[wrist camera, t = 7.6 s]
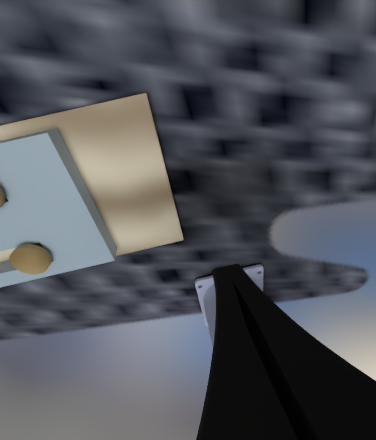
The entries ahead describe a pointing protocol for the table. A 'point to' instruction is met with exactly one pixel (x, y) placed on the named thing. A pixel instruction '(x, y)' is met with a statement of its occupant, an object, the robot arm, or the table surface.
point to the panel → (48, 207)
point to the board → (109, 175)
